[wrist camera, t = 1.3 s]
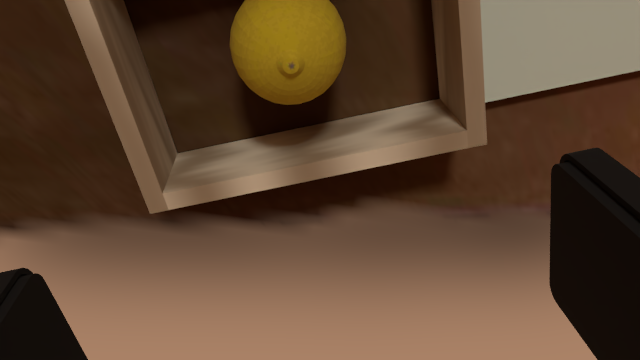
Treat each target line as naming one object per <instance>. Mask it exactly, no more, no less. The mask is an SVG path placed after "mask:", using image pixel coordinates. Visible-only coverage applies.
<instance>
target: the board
mask: <svg viewBox="0 0 640 360" xmlns="http://www.w3.org/2000/svg"><path fill="white" fill-rule="evenodd" d="M480 7H481V28H482V49H483V70H484V91H485V103H486V102H491V101H495V100H500V99H505V98H510V97H515V96H519V95H524V94H529V93H534V92H539V91H543V90H548V89H553V88H558V87H563V86H567V85H572V84H577V83H582V82H586V81H591V80H596V79H601V78H606V77H610V76H615V75H620V74H625V73H630V72H634V71H639V70H640V0H480Z"/></svg>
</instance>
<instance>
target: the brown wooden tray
mask: <svg viewBox="0 0 640 360" xmlns="http://www.w3.org/2000/svg"><path fill="white" fill-rule="evenodd" d="M65 3H66V5H67V8H68V10H69V13H70V15H71V18H72V20H73V23H74V25H75V28H76V30H77V33H78V35H79V37H80V40H81V42H82V45H83V47H84V50H85V52H86V55H87V57H88V60H89V62H90V65H91V67H92V70H93V72H94V75H95V77H96V80H97V82H98V85H99V87H100V90H101V92H102V95H103V97H104V100H105V102H106V105H107V107H108V110H109V112H110V115H111V117H112V120H113V122H114V125H115V127H116V130H117V132H118V135H119V137H120V140H121V142H122V145H123V147H124V150H125V152H126V155H127V157H128V160H129V162H130V165H131V167H132V170H133V172H134V175H135V177H136V180H137V182H138V185H139V187H140V190H141V192H142V195H143V197H144V200H145V202H146V205H147V207H148V210H149V212H150V214H152V213H157V212H162V211H167V210H171V209H176V208H181V207H186V206H191V205H196V204H200V203H205V202H210V201H215V200H220V199H225V198H229V197H234V196H239V195H244V194H249V193H253V192H258V191H263V190H268V189H273V188H278V187H282V186H287V185H292V184H297V183H302V182H307V181H311V180H316V179H321V178H326V177H331V176H335V175H340V174H345V173H350V172H355V171H360V170H364V169H369V168H374V167H379V166H384V165H389V164H393V163H398V162H403V161H408V160H413V159H417V158H422V157H427V156H432V155H437V154H442V153H446V152H451V151H456V150H461V149H466V148H471V147H475V146H480V145H485V144H487V133H486V112H485V91H484V70H483V49H482V28H481V7H480V0H431V4H432V15H433V27H434V38H435V49H436V60H437V71H438V83H439V94H440V99H436V100H431V101H426V102H422V103H417V104H412V105H407V106H402V107H398V108H393V109H388V110H383V111H378V112H374V113H369V114H364V115H359V116H355V117H350V118H345V119H340V120H335V121H331V122H326V123H321V124H316V125H312V126H307V127H302V128H297V129H292V130H288V131H283V132H278V133H273V134H268V135H264V136H259V137H254V138H249V139H245V140H240V141H235V142H230V143H225V144H221V145H216V146H211V147H206V148H202V149H197V150H192V151H187V152H182V153H178V154H177V151H176V148H175V145H174V142H173V139H172V136H171V134H170V131H169V128H168V125H167V122H166V119H165V116H164V114H163V111H162V108H161V105H160V102H159V99H158V97H157V94H156V91H155V88H154V85H153V82H152V79H151V77H150V74H149V71H148V68H147V65H146V62H145V59H144V57H143V54H142V51H141V48H140V45H139V42H138V39H137V37H136V34H135V31H134V28H133V25H132V22H131V20H130V17H129V14H128V11H127V8H126V5H125V2H124V0H65Z"/></svg>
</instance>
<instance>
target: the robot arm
mask: <svg viewBox="0 0 640 360" xmlns="http://www.w3.org/2000/svg"><path fill="white" fill-rule="evenodd" d="M550 228H551V229H550V288H551V292H552V295H553V297H554V299H555V301H556V303H557V304H558V306H559V307H560V308H561V310H562V311H563V312H564V314H565V315H566V317H567V318H568V319H569V321H570V322H571V323H572V325H573V326H574V328H575V329H576V330H577V332H578V333H579V335H580V336H581V337H582V339H583V340H584V341H585V343H586V344H587V346H588V347H589V348H590V350H591V351H592V353H593V354H594V355H595V356H596V358H597V360H640V178H639V177H638V176H637V175H635V174H634V173H632V172H631V171H630V170H628V169H627V168H626V167H624V166H623V165H622V164H620V163H619V162H618V161H616V160H615V159H614V158H612V157H611V156H610V155H608V154H607V153H605V152H604V151H603V150H601V149H599V148H592V149H587V150H583V151H578V152H573V153H568V154H564V155H563V156H562V157H561V160H560V164H555V165H554V166H553V168H552V172H551V224H550ZM0 360H88V359H87V357H86V355H85V354H84V352H83V350H82V348H81V346H80V345H79V343H78V341H77V339H76V337H75V335H74V334H73V332H72V330H71V328H70V326H69V324H68V323H67V321H66V319H65V317H64V315H63V313H62V311H61V310H60V308H59V306H58V304H57V302H56V300H55V299H54V297H53V295H52V293H51V291H50V289H49V288H48V286H47V284H46V282H45V280H44V279H43V277H42V276H41V275H39V274H33V273H32V272H31V271H30V270H28V269H25V268H20V269H16V270H11V271H6V272H1V273H0Z"/></svg>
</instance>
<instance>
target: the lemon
mask: <svg viewBox="0 0 640 360" xmlns="http://www.w3.org/2000/svg"><path fill="white" fill-rule="evenodd" d="M230 49H231V55H232V60H233V63H234V65H235V67H236V70H237V72H238V74H239V76H240V77H241V79H242V80H243V81H244V82H245V84H246V85H247V86H248V87H249V88H250V89H251V90H252V91H253V92H255V93H256V94H257V95H259V96H260V97H262V98H264V99H266V100H269V101H271V102H273V103H278V104H284V105H292V104H301V103H304V102H307V101H311V100H313V99H314V98H316V97H318V96H319V95H321V94H323V93H324V92H325V91H326V90H327V89H328V88H329V87H330V86H331V85H332V84H333V83H334V81H335V79H336V78H337V76H338V74H339V73H340V71H341V69H342V65H343V62H344V59H345V55H346V35H345V30H344V25H343V22H342V20H341V18H340V16H339V14H338V11H337V9H336V8H335V7H334V5H333V4H332V3H331V2H330V1H329V0H245V1H244V2H243V4H242V5H241V7H240V8H239V10H238V11H237V13H236V15H235V18H234V21H233V24H232V27H231V34H230Z"/></svg>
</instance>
